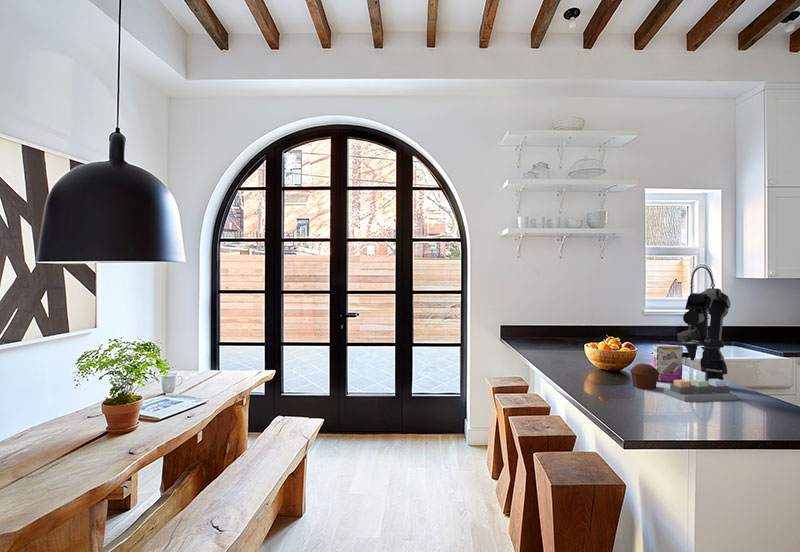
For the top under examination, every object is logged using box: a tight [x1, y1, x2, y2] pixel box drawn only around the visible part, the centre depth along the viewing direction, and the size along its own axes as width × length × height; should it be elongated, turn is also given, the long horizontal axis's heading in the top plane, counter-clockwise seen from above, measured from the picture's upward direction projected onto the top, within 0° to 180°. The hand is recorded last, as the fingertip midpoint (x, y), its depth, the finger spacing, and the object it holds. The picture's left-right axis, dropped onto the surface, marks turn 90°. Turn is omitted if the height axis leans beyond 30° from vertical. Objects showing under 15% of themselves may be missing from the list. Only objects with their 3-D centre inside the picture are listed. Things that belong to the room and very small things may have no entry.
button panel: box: [663, 383, 738, 402], centre depth 185 cm, size 12×22×4 cm, turn 96°
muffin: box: [629, 362, 659, 391], centre depth 201 cm, size 12×11×10 cm
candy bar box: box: [652, 344, 683, 383], centre depth 213 cm, size 11×5×16 cm, turn 84°
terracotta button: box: [673, 379, 691, 387], centre depth 184 cm, size 4×4×3 cm
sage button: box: [690, 378, 708, 387], centre depth 185 cm, size 4×4×3 cm
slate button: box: [708, 379, 726, 386], centre depth 186 cm, size 4×4×3 cm
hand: (699, 362), depth 189 cm, fingers open, 7 cm apart
